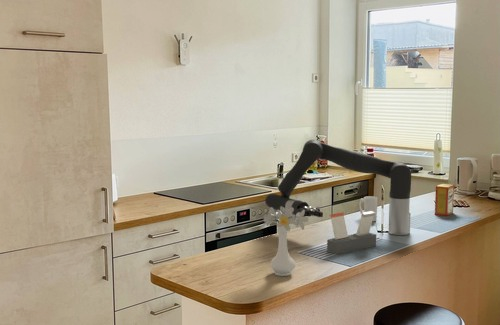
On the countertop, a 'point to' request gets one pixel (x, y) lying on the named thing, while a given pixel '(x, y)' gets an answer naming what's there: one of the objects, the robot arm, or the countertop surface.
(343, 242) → the gray rectangular block
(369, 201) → the mug
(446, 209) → the baking soda box
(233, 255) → the countertop surface
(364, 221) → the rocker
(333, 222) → the panel
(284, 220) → the flower vase
